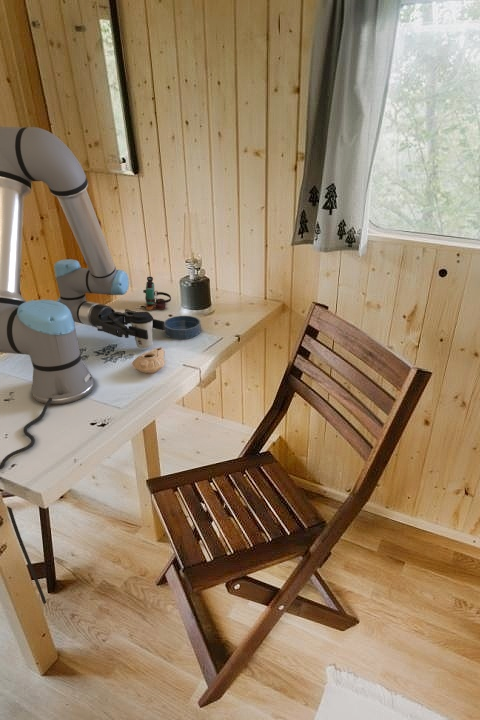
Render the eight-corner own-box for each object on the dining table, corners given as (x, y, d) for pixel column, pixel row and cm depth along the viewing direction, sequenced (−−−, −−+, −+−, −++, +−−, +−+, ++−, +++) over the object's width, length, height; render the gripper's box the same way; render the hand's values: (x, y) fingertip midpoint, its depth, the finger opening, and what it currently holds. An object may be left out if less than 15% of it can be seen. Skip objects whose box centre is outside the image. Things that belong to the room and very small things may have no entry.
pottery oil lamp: (175, 358, 140) (177, 343, 134) (155, 387, 133) (156, 373, 128) (149, 345, 140) (149, 330, 134) (127, 374, 133) (127, 359, 128)
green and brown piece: (171, 284, 168) (142, 282, 166) (170, 312, 174) (143, 311, 172) (170, 276, 176) (143, 274, 174) (170, 303, 181) (143, 302, 179)
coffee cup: (139, 352, 140) (135, 320, 135) (129, 344, 145) (124, 313, 139) (160, 346, 144) (157, 315, 139) (149, 338, 148) (146, 308, 143)
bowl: (187, 342, 150) (186, 332, 148) (157, 335, 155) (156, 325, 153) (208, 329, 159) (207, 320, 157) (179, 322, 164) (178, 313, 162)
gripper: (121, 316, 158) (177, 330, 149) (75, 337, 143) (134, 354, 134) (118, 295, 154) (175, 307, 145) (70, 314, 139) (130, 330, 130)
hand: (155, 330), depth 139 cm, fingers closed on coffee cup, 7 cm apart
